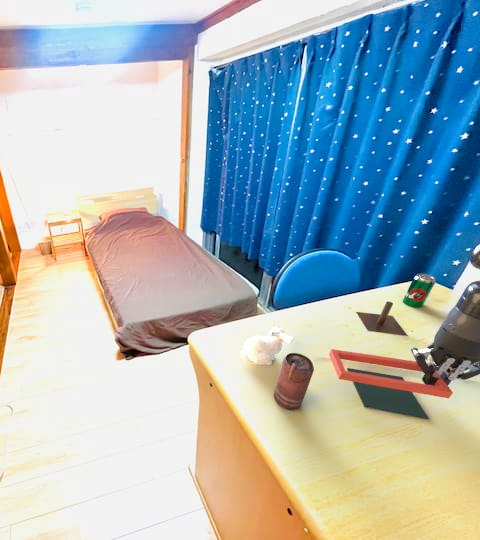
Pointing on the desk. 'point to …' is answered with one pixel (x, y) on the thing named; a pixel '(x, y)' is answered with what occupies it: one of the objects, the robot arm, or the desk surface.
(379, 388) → the mat
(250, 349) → the rabbit
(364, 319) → the stand
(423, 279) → the soda can
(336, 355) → the loop
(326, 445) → the desk surface
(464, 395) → the desk surface
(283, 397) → the can
